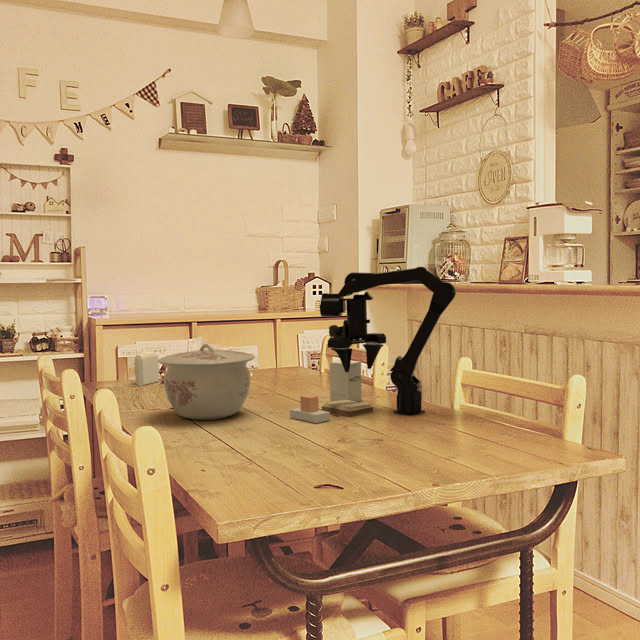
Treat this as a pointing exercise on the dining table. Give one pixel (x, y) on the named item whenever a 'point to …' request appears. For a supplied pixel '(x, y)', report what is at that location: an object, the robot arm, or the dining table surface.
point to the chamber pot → (207, 382)
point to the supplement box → (345, 382)
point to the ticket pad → (347, 408)
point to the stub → (309, 410)
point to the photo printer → (146, 368)
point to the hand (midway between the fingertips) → (358, 370)
